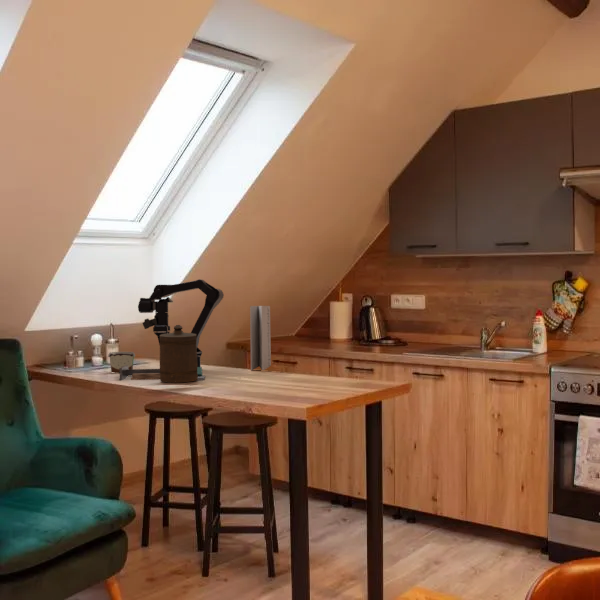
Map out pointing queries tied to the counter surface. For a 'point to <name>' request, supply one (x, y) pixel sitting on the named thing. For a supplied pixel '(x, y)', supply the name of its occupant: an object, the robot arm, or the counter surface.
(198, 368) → the block
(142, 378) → the board
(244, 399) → the counter surface
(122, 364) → the food container
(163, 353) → the wooden container
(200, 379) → the mat
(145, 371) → the rack
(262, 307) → the grey tall angular piece
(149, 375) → the offcut top
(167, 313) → the robot arm
